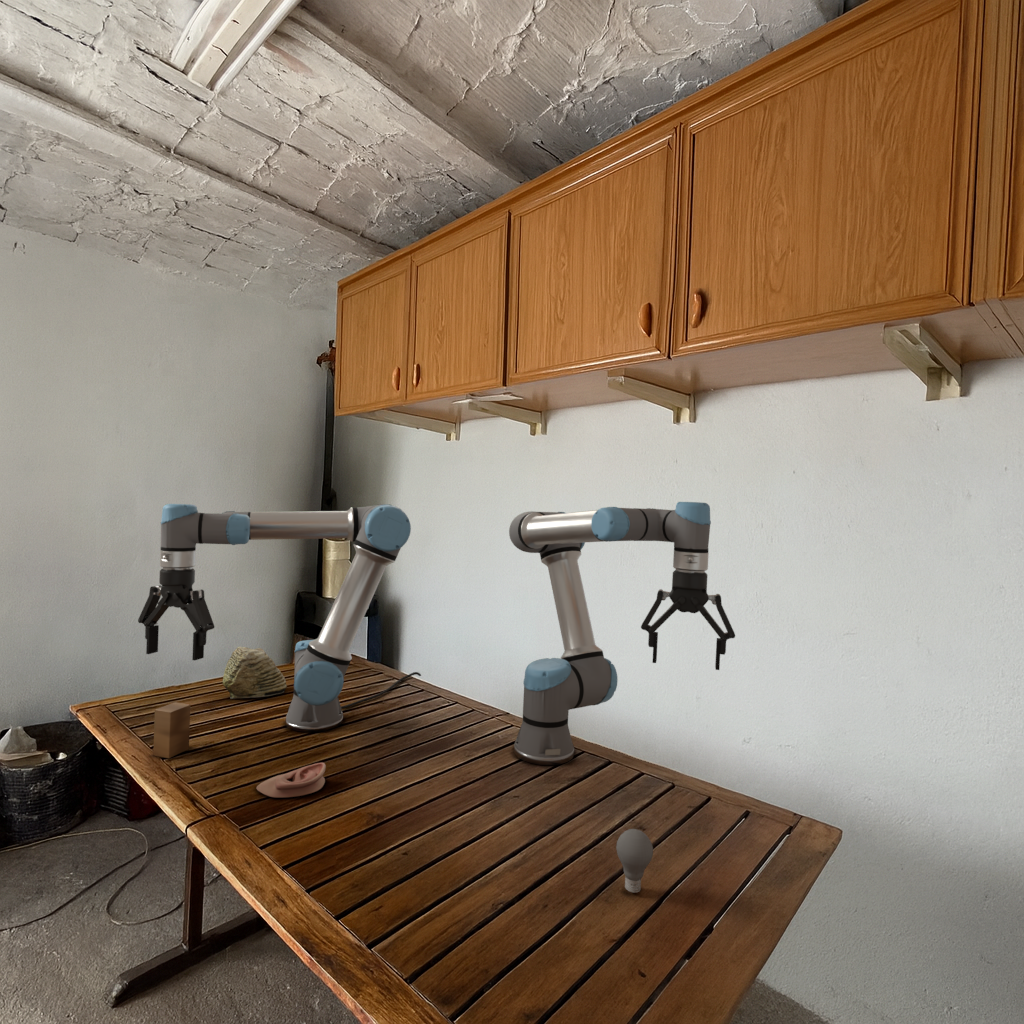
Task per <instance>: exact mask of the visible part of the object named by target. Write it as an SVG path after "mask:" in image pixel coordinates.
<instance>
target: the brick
mask: <svg viewBox="0 0 1024 1024" xmlns="http://www.w3.org/2000/svg"><path fill="white" fill-rule="evenodd" d="M153 723H154V724H153V749H152V751H153V753H152V755H153V757H159V758H165V759H171V758H173V757H174V756H177V755H179V754H181V753H184V752H185V751H188V750H189V749H190V729H191V704H188V703H184V702H176V701H175V702H172V703H169V704H167V705H164V706H161V707H158V708H156V709H154V721H153Z"/></svg>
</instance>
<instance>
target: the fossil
mask: <svg viewBox="0 0 1024 1024" xmlns="http://www.w3.org/2000/svg"><path fill="white" fill-rule="evenodd" d="M222 676H223V677H222V685H223V687H224V688H225V690H226V691H228V693H229V698H230V699H250V698H264V697H271V696H275V695H281V694H284V693H285V691H286V689H287V687H288V686H287V680H286V678H285V676H284V674H283V673H282V672H281V669H279V668H278V667H277V665H276V663H275V662H274V660H273V659H272V658H271V657H270V656H269V655H268V654H267V653H266V652H265V650H264V649H263V648H260V647H258V648H251V647H247V646H246V647H245V646H238V647H237V648H236V649H235V650H233V651H232V653H231V656H230V657H229V659H228V660H227V663H226V666H225V668H224V671H223V675H222Z"/></svg>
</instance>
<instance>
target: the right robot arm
mask: <svg viewBox="0 0 1024 1024" xmlns="http://www.w3.org/2000/svg"><path fill="white" fill-rule="evenodd" d="M711 524H712V522H711V507H710V505H709V504H708V503H707V502H700V501H699V502H697V501H678V502H677V503H676V504H675V509H663V508H662V509H661V508H660V509H659V508H650V507H648V508H647V507H646V508H634V507H633V508H630V507H617V506H607V507H606V506H605V507H600V508H598V509H592V510H583V511H573V512H564V511H532V510H531V511H525V512H521V513H520V514H517V515H516V516H515V517H514V518H513V519H512V521H511V522H510V524H509V529H508V535H509V539H510V541H511V543H512V544H513V546H514V547H515V548H517V549H518V550H519V551H521V552H524V553H529V554H539V556H540V561H541V563H542V564H543V565H545V566H546V567H547V568H548V575H549V579H550V584H551V590H552V594H553V599H554V605H555V609H556V614H557V620H558V624H559V630H560V634H561V640H562V645H563V653H562V655H561V656H560V658H559V657H552V658H549V657H545V658H540V659H536V660H533V661H532V662H529V664H528V665H527V666H526V667H525V671H524V678H523V702H522V703H523V704H522V720H521V721H522V722H521V725H520V728H519V730H518V732H517V736H516V737H515V738H516V739H515V741H514V743H513V745H514V746H513V753H514V755H515V756H516V757H517V758H518V759H520V760H521V761H524V762H526V763H529V764H533V765H540V766H556V765H557V766H558V765H563V764H565V763H568V762H570V761H572V760H573V759H574V756H575V746H574V744H573V740H572V736H571V732H570V728H569V711H570V710H575V709H580V708H585V707H586V708H587V707H591V706H598V705H601V704H603V703H606V702H608V701H610V700H611V699H612V698H613V697H614V694H615V692H616V691H617V687H618V672H617V669H616V667H615V664H613V663H612V660H610V659H608V658H605V656H604V651H603V649H602V648H600V647H599V646H597V644H596V640H595V636H594V631H593V627H592V622H591V617H590V613H589V608H588V604H587V597H586V593H585V590H584V584H583V580H582V575H581V570H580V566H579V562H578V561H579V559H580V557H581V556H582V549H583V548H584V546H585V543H600V542H631V541H632V542H666V543H673V560H672V567H673V569H674V570H673V571H672V577H671V578H672V579H671V591H666V590H663V589H662V588H661V589H660V588H659V590H657V594H656V599H655V601H654V603H653V605H652V606H651V608H650V609H649V612H648V613H647V614H646V615H645V618H644V619H643V622H642V623H641V625H640V628H641V630H643V631H646V632H647V633H648V643H647V645H648V647H649V648H652V664H656V663H657V659H658V642H659V641H658V639H659V632H658V631H657V630H658V629H659V628H660V627H661V626H662V625H663V624H664V623H665V622H666V621H667V620H668V619H669V618H670V617H671V616H672V615H673V614H674V613H675V612H676V611H679V612H680V613H690V614H696V613H700V614H701V616H702V617H703V618H704V620H706V622H707V623H708V624H709V626H710V627H711V629H713V631H714V632H715V633H716V635H717V636H718V637H716V646H715V666H714V667H715V670H716V671H720V663H721V655H724V656H725V655H726V651H727V640H730V639H735V638H736V633H735V631H734V628H733V626H732V624H731V621H730V620H729V617H728V615H727V613H726V611H725V609H724V607H723V604H722V596H721V594H720V593H716V594H708V573H707V572H706V571H708V569H709V553H710V552H709V542H710V532H711ZM667 598H669V599H670V601H671V602H672V604H671V605H670V606H669V607H668V609H667V610H666V611H664V613H662V614H661V616H659V618H658V619H657V620H655V621H654V622H653V623H652V624H651V625H650V623H651V621H652V619H653V617H654V616H655V614H656V612H657V611H658V609H659V607H660V606H661V604H662V601H665V600H667ZM709 601H710V602H711V604H712V605H715V607H716V609H717V612H718V614H719V617H720V619H721V621H722V623H723V626H724V627H725V629H726V632H724V630H723V629H722V628H721V626H720V625H719V624H718V622H717V621H716V620H715V619H714V618H713V616H712V615H711V614H710V612H709V610H707V608H706V607H705V605H706V604H707V603H708V602H709Z"/></svg>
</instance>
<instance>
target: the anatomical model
mask: <svg viewBox="0 0 1024 1024" xmlns="http://www.w3.org/2000/svg"><path fill="white" fill-rule="evenodd" d="M326 768H327V765H326V763H325V762H316V763H313V764H309V765H306V766H302V767H300V768H297V769H294V770H292V771H289V772H286V773H282V774H278V775H275V776H273V777H270V778H267V779H265V780H264V781H262V782H261V783H259V784H258V785H256V790H257V792H259V793H261V794H263V795H264V796H267V797H270V798H275V799H278V798H293V797H294V798H295V797H300V796H301V797H302V796H306V795H309V794H312V793H315V792H318V791H320V790H321V789H322V788H323V787H324V785H325V783H326V778H325V777H324V775H325V772H326V770H327V769H326Z"/></svg>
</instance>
